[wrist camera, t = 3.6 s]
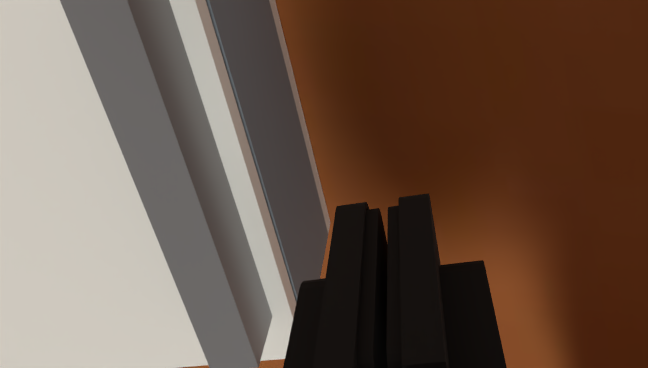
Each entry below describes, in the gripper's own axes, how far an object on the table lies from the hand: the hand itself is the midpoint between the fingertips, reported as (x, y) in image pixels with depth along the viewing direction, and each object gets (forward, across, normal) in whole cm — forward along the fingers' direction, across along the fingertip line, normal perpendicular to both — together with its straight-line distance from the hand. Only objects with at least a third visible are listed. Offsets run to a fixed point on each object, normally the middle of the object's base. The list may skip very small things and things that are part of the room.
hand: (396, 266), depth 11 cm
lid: (+8, +16, +1) cm, 18 cm away
